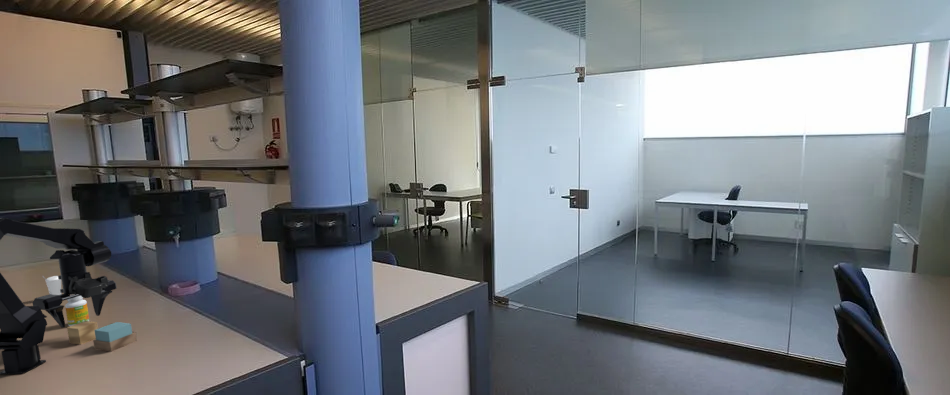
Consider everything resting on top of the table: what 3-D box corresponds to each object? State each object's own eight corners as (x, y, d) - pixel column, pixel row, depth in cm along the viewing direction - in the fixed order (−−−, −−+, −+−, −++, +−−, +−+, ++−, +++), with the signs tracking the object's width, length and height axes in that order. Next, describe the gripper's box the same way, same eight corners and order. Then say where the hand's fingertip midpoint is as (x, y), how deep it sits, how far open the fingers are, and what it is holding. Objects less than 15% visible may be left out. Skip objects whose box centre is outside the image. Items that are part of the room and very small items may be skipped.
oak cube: (80, 345, 132) (78, 328, 131) (69, 343, 133) (66, 327, 133) (99, 337, 137) (97, 322, 136) (88, 336, 138) (85, 320, 138)
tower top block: (110, 342, 126) (108, 332, 126) (96, 340, 128) (94, 330, 128) (132, 333, 132) (130, 323, 131) (118, 331, 134) (117, 321, 133)
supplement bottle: (76, 327, 146) (72, 298, 145) (63, 326, 147) (59, 298, 146) (93, 320, 151) (89, 292, 150) (81, 320, 153) (76, 292, 151)
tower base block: (111, 352, 126) (110, 342, 126) (94, 350, 128) (93, 340, 128) (137, 342, 133) (135, 332, 132) (120, 339, 135) (119, 330, 134)
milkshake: (49, 298, 179) (45, 274, 178) (66, 296, 181) (62, 272, 180) (43, 301, 175) (39, 277, 174) (61, 299, 177) (57, 274, 176)
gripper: (53, 281, 121) (62, 336, 123) (125, 263, 139) (132, 311, 140) (27, 279, 124) (36, 333, 126) (100, 262, 142) (107, 309, 144)
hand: (81, 321), depth 134 cm, fingers open, 9 cm apart
